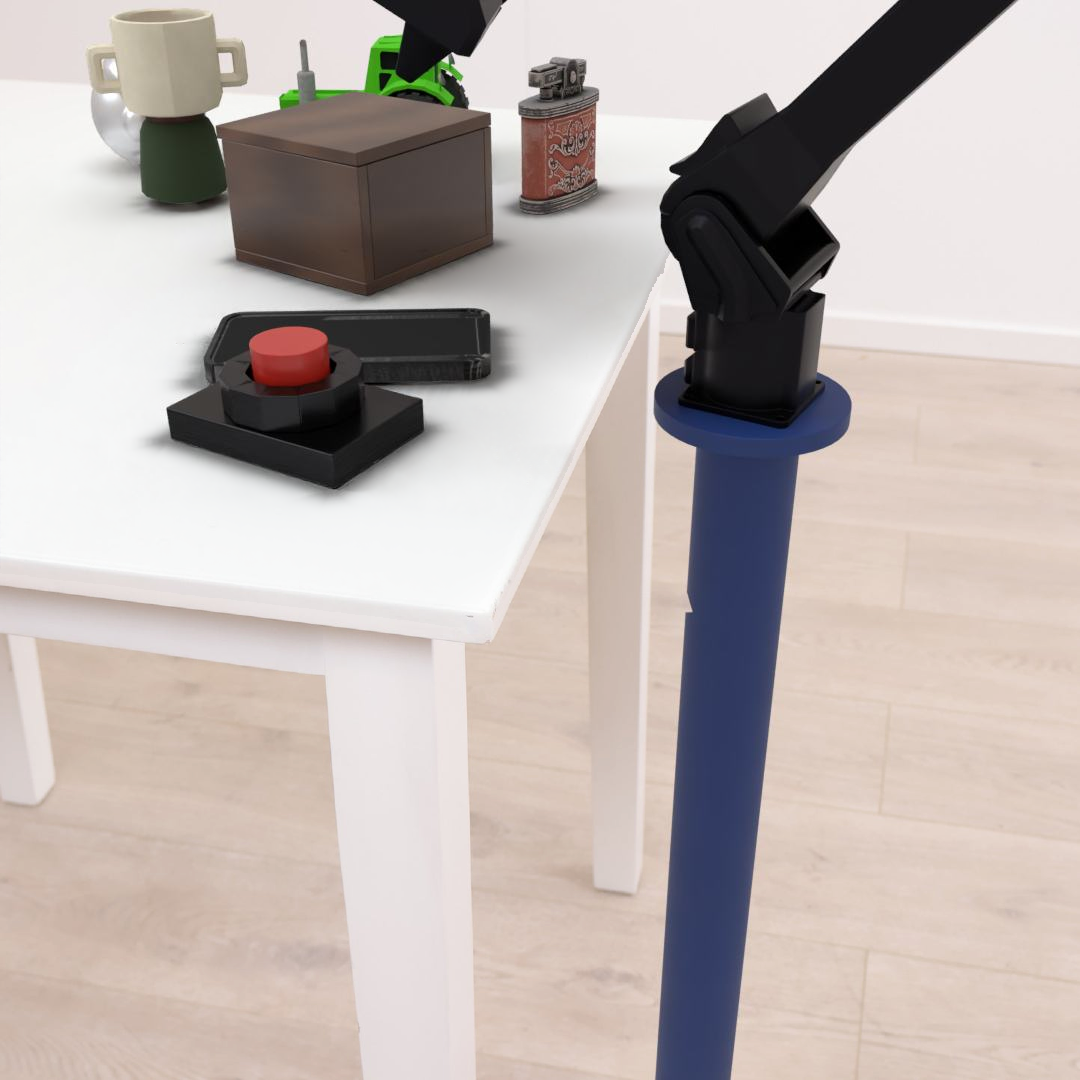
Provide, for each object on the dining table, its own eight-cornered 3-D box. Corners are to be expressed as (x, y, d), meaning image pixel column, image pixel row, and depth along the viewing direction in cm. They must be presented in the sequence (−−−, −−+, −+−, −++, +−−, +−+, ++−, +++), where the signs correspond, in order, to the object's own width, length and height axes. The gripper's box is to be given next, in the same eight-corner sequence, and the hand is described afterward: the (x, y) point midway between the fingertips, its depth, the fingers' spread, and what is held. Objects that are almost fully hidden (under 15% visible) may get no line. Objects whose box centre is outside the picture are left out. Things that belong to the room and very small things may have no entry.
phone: (490, 361, 68) (199, 365, 67) (491, 381, 68) (202, 385, 68) (490, 306, 75) (225, 310, 74) (490, 325, 75) (227, 329, 75)
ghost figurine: (78, 179, 103) (53, 45, 98) (129, 149, 111) (109, 24, 106) (187, 184, 101) (168, 48, 96) (231, 153, 109) (215, 27, 104)
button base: (425, 430, 64) (421, 363, 62) (335, 489, 58) (328, 418, 57) (267, 388, 68) (259, 324, 66) (170, 439, 63) (159, 371, 61)
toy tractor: (296, 149, 111) (284, 23, 106) (488, 150, 110) (485, 24, 105) (268, 184, 101) (254, 48, 96) (478, 186, 101) (474, 49, 96)
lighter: (570, 184, 101) (571, 48, 96) (607, 190, 100) (610, 53, 94) (508, 208, 96) (506, 65, 90) (546, 216, 94) (546, 71, 89)
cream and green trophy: (257, 182, 102) (237, 3, 95) (264, 207, 96) (244, 19, 89) (112, 192, 99) (81, 10, 93) (110, 219, 94) (77, 26, 87)
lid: (216, 138, 82) (215, 125, 82) (355, 102, 91) (354, 90, 90) (357, 166, 76) (356, 152, 75) (491, 125, 85) (491, 112, 84)
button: (346, 369, 62) (343, 335, 61) (297, 396, 59) (293, 361, 59) (287, 354, 64) (283, 321, 63) (237, 380, 61) (232, 345, 60)
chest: (236, 260, 86) (221, 139, 82) (367, 214, 94) (359, 103, 90) (366, 296, 80) (357, 167, 76) (493, 244, 89) (491, 126, 85)
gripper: (443, -311, 70) (333, -54, 80) (329, -242, 56) (213, 58, 67) (618, -188, 72) (489, 48, 82) (549, -91, 58) (404, 177, 69)
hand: (404, 76), depth 75 cm, fingers closed
